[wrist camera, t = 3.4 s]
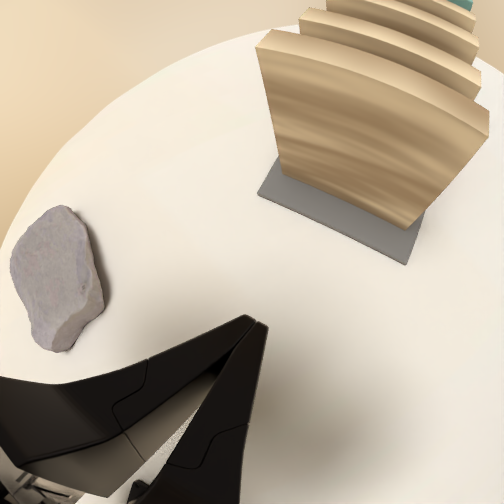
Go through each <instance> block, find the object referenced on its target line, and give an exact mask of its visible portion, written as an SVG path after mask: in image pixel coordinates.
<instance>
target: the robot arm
mask: <svg viewBox="0 0 504 504" xmlns="http://www.w3.org/2000/svg"><path fill="white" fill-rule="evenodd" d="M267 334H268V326H267V325H265V324H263V323H261V322H259V321H257V322H256V320H255V319H254V318H252V317H250V316H248V315H246V314H244V315H241V316H239V317H237V318H235V319H233V320H231V321H229V322H227V323H225V324H223V325H221V326H218V327H216V328H214V329H212V330H210V331H208V332H206V333H204V334H201V335H199V336H197V337H195V338H193V339H190V340H188V341H186V342H184V343H182V344H179V345H177V346H175V347H173V348H170V349H168V350H166V351H164V352H161V353H159V354H157V355H154V356H152V357H150V358H149V359H145V360H143V361H140V362H138V363H135V364H133V365H130V366H128V367H125V368H122V369H119V370H116V371H113V372H109V373H106V374H102V375H99V376H95V377H91V378H87V379H83V380H79V381H74V382H70V383H65V384H44V383H37V382H30V381H24V380H18V379H12V378H7V377H2V376H0V504H75V503H76V502H77V501H78V500H79V499H80V498H81V497H82V496H83V495H84V494H85V493H89V494H93V495H97V496H101V497H106V498H108V497H109V496H110V495H112V494H113V493H114V492H115V491H116V490H117V489H118V488H119V487H120V486H121V485H122V484H123V483H125V482H126V481H127V480H128V479H129V478H130V477H131V476H132V475H133V474H134V473H135V472H136V471H137V470H138V469H139V468H140V467H141V466H142V465H143V464H144V463H145V462H146V461H147V460H148V459H149V458H150V457H151V456H152V455H153V454H154V453H155V452H156V451H157V450H158V449H159V448H160V447H161V446H162V445H163V444H164V443H165V442H166V441H167V440H168V439H169V438H170V437H171V436H172V435H173V434H174V433H175V432H176V431H177V430H178V428H179V427H180V426H181V425H182V424H183V423H184V422H185V421H186V420H187V419H188V418H189V417H190V416H191V415H192V414H193V412H194V411H195V410H196V409H197V408H198V407H199V406H200V405H201V406H200V407H199V409H198V411H197V412H196V414H195V416H194V417H193V419H192V421H191V422H190V424H189V426H188V427H187V429H186V431H185V432H184V434H183V435H182V437H181V439H180V440H179V442H178V444H177V445H176V447H175V448H174V450H173V452H172V453H171V455H170V457H169V458H168V460H167V461H166V464H165V465H164V466H163V468H162V469H161V471H160V472H159V474H158V475H157V476H156V478H155V479H154V480H153V482H152V483H151V484H150V485H149V486H148V485H146V484H145V483H143V482H141V481H139V480H136V481H134V482H133V484H132V487H131V491H130V494H129V497H128V501H127V504H240V490H241V476H242V464H243V455H244V448H245V443H246V437H247V433H248V428H249V423H250V418H251V414H252V409H253V404H254V399H255V395H256V390H257V385H258V380H259V375H260V370H261V365H262V360H263V355H264V350H265V345H266V339H267ZM138 485H139V486H138Z"/></svg>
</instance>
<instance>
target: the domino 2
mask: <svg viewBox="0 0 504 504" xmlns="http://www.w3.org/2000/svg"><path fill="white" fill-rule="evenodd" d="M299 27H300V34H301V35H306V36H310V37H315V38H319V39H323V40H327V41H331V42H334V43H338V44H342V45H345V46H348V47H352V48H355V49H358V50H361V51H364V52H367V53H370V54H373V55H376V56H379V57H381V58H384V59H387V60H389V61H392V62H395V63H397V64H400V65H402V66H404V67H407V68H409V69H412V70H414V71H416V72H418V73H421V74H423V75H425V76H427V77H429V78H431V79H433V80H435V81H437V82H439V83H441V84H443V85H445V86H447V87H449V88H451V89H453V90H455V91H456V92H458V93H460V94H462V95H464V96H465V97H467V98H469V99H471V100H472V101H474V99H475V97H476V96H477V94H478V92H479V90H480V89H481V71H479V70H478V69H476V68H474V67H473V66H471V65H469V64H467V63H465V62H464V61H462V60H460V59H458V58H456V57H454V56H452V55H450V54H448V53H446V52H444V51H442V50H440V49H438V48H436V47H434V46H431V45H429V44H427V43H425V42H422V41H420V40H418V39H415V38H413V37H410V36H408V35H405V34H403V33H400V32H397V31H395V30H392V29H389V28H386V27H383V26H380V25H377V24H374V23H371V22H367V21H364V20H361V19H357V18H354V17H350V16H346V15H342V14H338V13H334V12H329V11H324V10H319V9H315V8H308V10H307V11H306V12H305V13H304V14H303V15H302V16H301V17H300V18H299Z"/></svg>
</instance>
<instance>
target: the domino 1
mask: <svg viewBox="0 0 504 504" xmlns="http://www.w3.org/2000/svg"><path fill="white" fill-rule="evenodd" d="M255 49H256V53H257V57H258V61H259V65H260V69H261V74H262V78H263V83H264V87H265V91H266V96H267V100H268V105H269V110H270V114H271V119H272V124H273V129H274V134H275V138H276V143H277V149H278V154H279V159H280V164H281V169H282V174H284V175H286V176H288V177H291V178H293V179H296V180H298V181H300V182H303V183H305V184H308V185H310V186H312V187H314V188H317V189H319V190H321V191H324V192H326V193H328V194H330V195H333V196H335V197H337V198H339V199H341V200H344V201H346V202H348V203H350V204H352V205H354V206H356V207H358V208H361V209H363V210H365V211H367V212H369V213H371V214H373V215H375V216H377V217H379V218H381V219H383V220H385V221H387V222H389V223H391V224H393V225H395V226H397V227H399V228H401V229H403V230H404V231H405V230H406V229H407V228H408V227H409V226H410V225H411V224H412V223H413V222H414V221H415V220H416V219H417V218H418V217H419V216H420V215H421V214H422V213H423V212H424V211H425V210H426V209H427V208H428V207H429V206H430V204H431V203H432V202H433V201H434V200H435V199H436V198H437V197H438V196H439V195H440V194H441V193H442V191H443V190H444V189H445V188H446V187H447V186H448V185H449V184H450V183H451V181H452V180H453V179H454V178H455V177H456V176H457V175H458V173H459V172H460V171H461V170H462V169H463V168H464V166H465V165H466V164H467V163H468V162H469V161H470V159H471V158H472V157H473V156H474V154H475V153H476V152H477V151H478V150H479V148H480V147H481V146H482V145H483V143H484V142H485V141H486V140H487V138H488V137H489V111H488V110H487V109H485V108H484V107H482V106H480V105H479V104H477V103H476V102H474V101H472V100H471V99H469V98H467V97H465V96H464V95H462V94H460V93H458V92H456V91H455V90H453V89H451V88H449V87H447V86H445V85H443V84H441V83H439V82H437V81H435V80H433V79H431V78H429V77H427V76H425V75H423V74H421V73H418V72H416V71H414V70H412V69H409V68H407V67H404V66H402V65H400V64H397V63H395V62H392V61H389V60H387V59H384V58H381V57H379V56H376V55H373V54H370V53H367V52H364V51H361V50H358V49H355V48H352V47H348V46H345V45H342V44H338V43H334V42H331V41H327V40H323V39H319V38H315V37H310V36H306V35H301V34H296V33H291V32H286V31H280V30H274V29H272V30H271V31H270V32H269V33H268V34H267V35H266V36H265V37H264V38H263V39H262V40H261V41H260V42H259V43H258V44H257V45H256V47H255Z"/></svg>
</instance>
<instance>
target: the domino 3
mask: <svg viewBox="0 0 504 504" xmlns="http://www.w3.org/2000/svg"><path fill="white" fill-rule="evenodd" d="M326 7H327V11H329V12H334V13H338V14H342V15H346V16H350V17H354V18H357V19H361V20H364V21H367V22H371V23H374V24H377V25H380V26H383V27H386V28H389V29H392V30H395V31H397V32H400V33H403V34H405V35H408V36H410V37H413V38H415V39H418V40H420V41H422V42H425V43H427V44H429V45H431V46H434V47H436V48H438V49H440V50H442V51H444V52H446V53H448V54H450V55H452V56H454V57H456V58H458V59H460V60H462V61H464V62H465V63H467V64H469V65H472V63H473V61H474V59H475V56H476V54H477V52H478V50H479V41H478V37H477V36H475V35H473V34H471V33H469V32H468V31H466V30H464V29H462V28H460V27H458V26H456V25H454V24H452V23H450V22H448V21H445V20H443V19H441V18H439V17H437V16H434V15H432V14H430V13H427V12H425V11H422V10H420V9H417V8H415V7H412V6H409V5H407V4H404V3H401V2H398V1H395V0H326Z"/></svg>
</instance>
